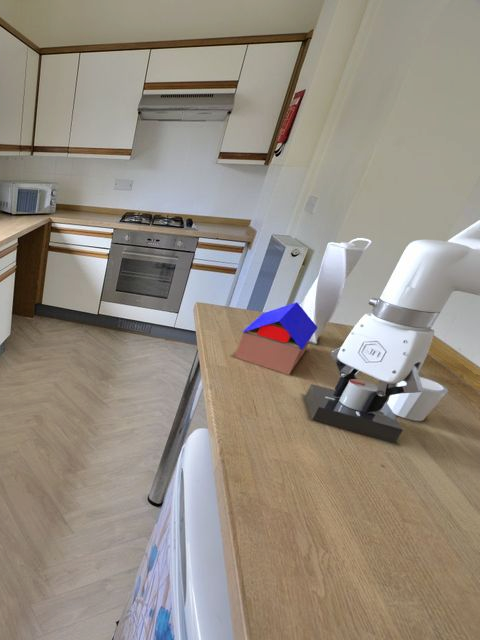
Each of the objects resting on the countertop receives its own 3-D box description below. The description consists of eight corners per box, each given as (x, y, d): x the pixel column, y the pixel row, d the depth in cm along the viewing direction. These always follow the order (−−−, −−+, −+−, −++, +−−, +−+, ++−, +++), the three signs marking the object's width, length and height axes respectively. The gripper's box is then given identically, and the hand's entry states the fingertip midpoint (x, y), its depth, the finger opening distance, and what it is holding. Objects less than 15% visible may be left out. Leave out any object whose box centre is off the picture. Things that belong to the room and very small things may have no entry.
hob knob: (365, 403, 79) (377, 382, 77) (371, 414, 75) (384, 392, 73) (337, 395, 81) (347, 375, 79) (341, 406, 77) (352, 385, 75)
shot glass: (374, 406, 83) (391, 376, 80) (392, 400, 86) (409, 371, 83) (418, 426, 78) (438, 395, 75) (435, 418, 80) (455, 388, 77)
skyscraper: (324, 338, 114) (372, 237, 102) (322, 347, 109) (373, 241, 96) (288, 329, 119) (329, 232, 107) (284, 337, 113) (328, 235, 101)
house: (306, 350, 106) (326, 309, 101) (290, 375, 93) (311, 329, 88) (254, 335, 114) (270, 295, 109) (232, 356, 101) (248, 312, 96)
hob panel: (379, 415, 80) (387, 402, 79) (395, 443, 73) (404, 429, 71) (305, 395, 86) (311, 383, 84) (312, 419, 78) (319, 406, 77)
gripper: (336, 298, 76) (297, 382, 84) (451, 336, 62) (391, 433, 70) (365, 296, 78) (324, 378, 86) (484, 333, 63) (421, 428, 71)
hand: (355, 402), depth 78 cm, fingers closed on hob knob, 4 cm apart
